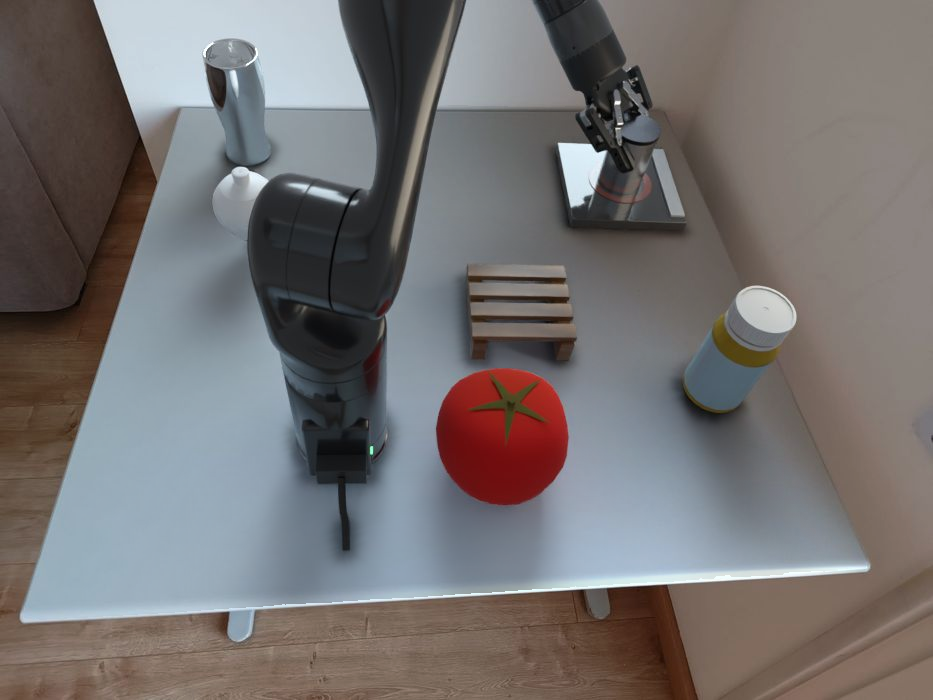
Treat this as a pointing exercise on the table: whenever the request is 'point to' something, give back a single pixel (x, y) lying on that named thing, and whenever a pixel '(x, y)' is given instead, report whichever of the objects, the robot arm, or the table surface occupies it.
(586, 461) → the table surface
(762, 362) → the bottle
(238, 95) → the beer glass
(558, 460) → the tomato
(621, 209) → the stove
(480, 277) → the wooden pallet
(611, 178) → the metal canister
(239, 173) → the spinning top
